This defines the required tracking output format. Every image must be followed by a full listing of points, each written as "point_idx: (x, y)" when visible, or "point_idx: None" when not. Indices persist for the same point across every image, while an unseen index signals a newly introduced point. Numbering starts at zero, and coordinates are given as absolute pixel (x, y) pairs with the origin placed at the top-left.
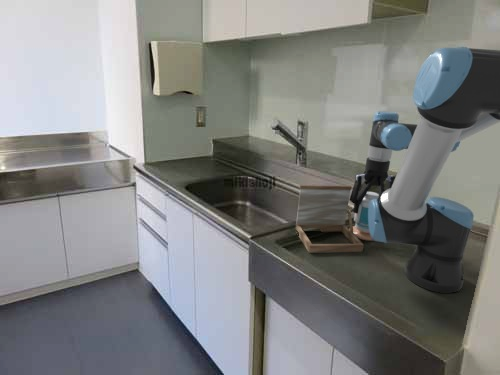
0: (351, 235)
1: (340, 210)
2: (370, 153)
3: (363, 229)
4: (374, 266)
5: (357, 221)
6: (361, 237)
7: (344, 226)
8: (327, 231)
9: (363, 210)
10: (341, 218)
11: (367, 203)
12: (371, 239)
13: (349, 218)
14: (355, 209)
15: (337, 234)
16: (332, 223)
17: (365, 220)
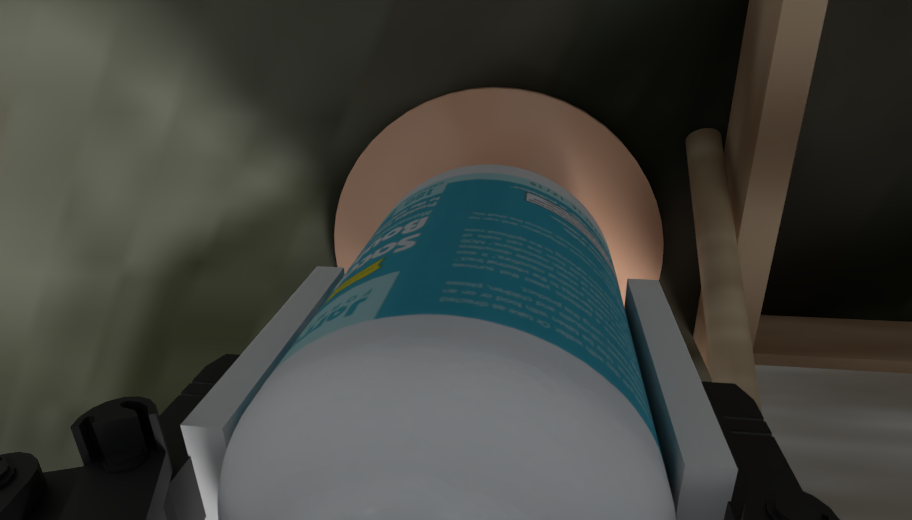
0: (804, 84)
1: (907, 510)
2: None
3: (574, 200)
4: None
5: (660, 288)
6: (604, 134)
7: (751, 318)
8: (898, 321)
9: (634, 374)
10: (803, 416)
11: (603, 468)
12: (502, 88)
13: (752, 363)
14: (767, 433)
15: (821, 252)
16: (890, 381)
17: (576, 246)
